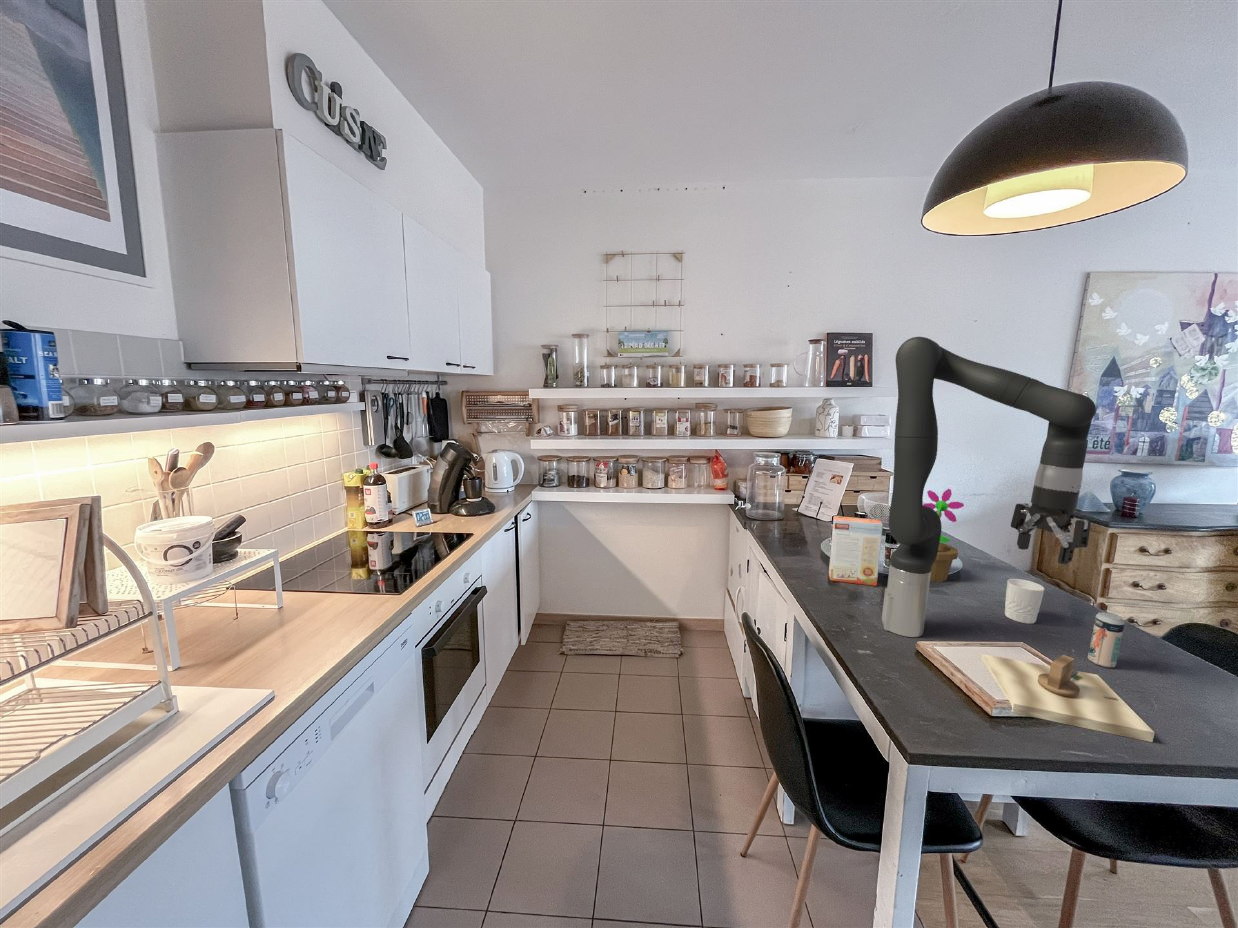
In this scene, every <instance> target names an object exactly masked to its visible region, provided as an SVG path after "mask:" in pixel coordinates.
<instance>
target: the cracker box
mask: <svg viewBox="0 0 1238 928" xmlns="http://www.w3.org/2000/svg"><path fill="white" fill-rule="evenodd" d="M883 526H884V524H883V523H882V521H881V520H880V519H874V518H865V517H864V518H861V517H852V516H841V515H840V516H838V515H834V516H833V520H832V531H831V532H832V533H831V543H830V544H831V545H830V553H829V555H830V557H829V567H828V577H829V580H830V581H832V582H841V583H850V584H857V585H866V586H874V587H877V586H878V585H877V584H878V577H879V567H880V559H881V558H880V557H881V556H880V555H881V547H882V537H883V528H884V527H883Z"/></svg>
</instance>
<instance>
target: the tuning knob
mask: <svg viewBox="0 0 1238 928" xmlns="http://www.w3.org/2000/svg"><path fill="white" fill-rule="evenodd" d="M1074 663H1075V658H1073V657H1070V656H1067V655H1065V654H1062V655H1060V656H1059V657H1057V658H1056V659H1054V660H1053V661H1051V662H1050V665H1049V666H1050V672H1049V674H1040V675H1039V676H1038V683H1039V684H1040V685H1041V686H1042V687H1044V688H1045V689H1047V690H1049V691H1051V692H1053V693H1056V694H1059V695H1062V696H1067V697H1077V696H1078V695H1079V692H1080V688H1079V687H1078V686H1077V685H1076V684H1075V683H1073V682H1072V681H1070V679H1071V678H1072V677H1074V676H1075V675H1077V674H1078V671H1079V670H1075V669H1074V668H1073V667H1074ZM1072 670H1073V671H1072Z"/></svg>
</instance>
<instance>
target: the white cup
mask: <svg viewBox="0 0 1238 928" xmlns="http://www.w3.org/2000/svg"><path fill="white" fill-rule="evenodd" d="M1006 581H1007V582H1006V591H1005V602H1004V603H1005V606H1004V614H1005V616H1006V617H1007V618H1008V619H1011V621H1015V622H1018V623H1023V624H1028V625H1029V624H1035V623H1036V622H1037V619H1038V615H1039V612H1040V607H1041V604H1042V600H1043V597H1044V593H1045V587H1044V586H1043V585H1041V584H1039V583H1036V582H1034V581H1031V580H1026V579H1022V578H1021V579H1020V578H1009V579H1007V580H1006Z"/></svg>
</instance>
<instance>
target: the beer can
mask: <svg viewBox="0 0 1238 928" xmlns="http://www.w3.org/2000/svg"><path fill="white" fill-rule="evenodd" d="M1093 623H1094V624H1093V628H1092V634H1091V638H1090V643H1089V648H1088V653H1087V659H1088V660H1089V661H1090V662H1092V663H1093V664H1095V665H1096V666H1099V667H1103V668H1115V667H1116V666H1117V662H1118V657H1119V653H1120V652H1119V651H1120V648H1121V642H1122V638H1123V633H1124V629H1125V625H1126V624H1125V621H1124V619H1123V617H1122V616H1120V615H1118V614H1115V613H1113V612H1107V611H1098V613H1097V614H1096V615H1095V618H1094V622H1093Z"/></svg>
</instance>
